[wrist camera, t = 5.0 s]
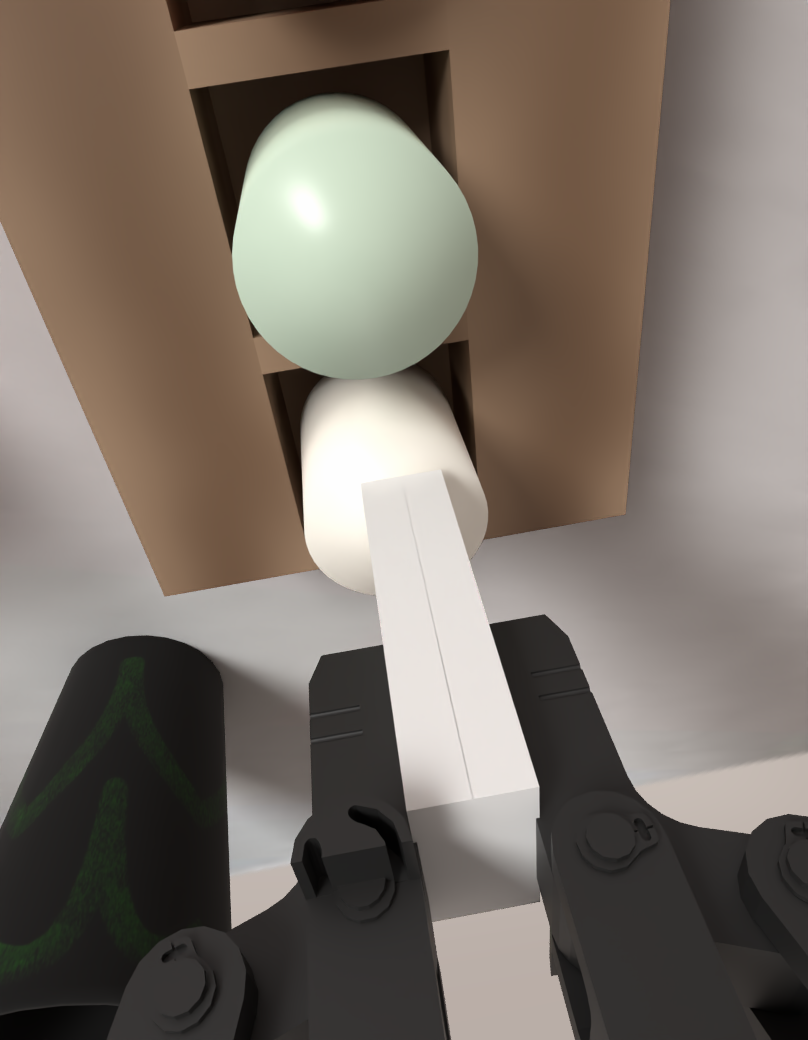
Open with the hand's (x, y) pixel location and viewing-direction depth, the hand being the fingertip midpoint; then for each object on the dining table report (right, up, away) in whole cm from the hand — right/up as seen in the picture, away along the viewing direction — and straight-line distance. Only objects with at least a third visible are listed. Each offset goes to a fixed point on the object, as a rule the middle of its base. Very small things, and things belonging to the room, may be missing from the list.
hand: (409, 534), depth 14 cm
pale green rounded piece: (-1, +6, 0) cm, 7 cm away
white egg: (-1, +2, +3) cm, 4 cm away
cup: (-10, -6, +14) cm, 18 cm away
